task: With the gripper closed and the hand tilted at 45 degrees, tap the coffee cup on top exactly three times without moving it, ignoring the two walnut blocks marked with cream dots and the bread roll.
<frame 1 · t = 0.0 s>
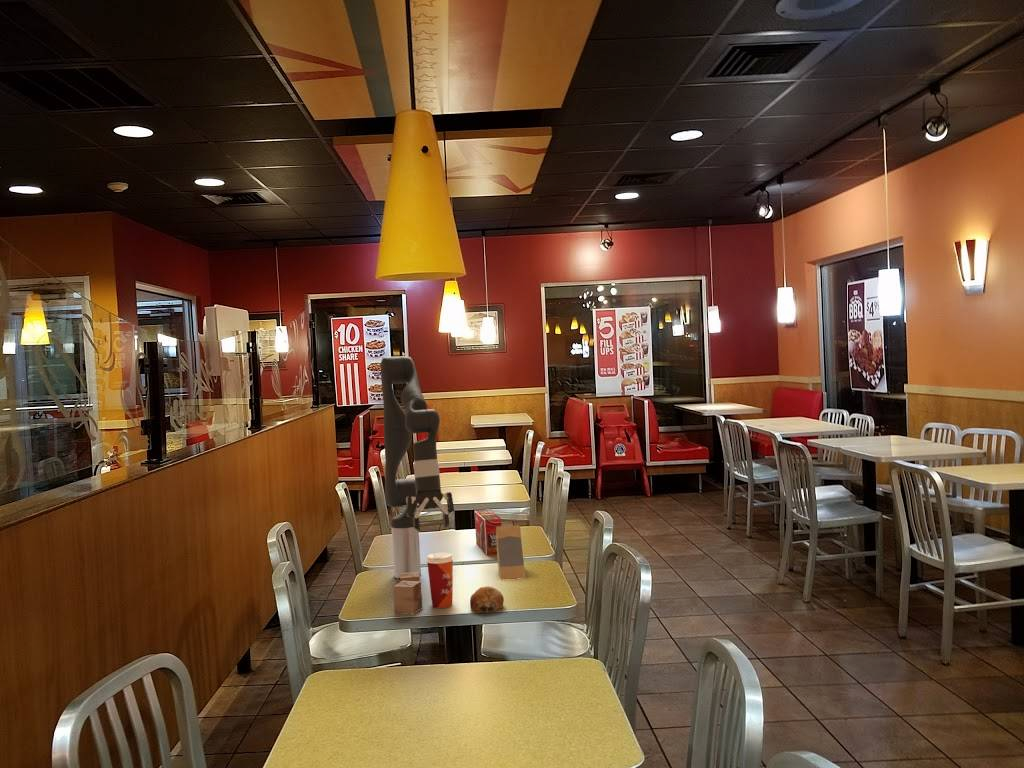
hand: (431, 529, 248), 22 cm above the table, tool pointing down, fingers open, 8 cm apart
three-dot block: (408, 610, 242), on the table
two-dot block: (411, 600, 252), on the table
ice cream box: (489, 549, 316), on the table
sandwich container: (511, 574, 278), on the table
bread roll: (486, 609, 240), on the table
coffee cup: (442, 605, 245), on the table
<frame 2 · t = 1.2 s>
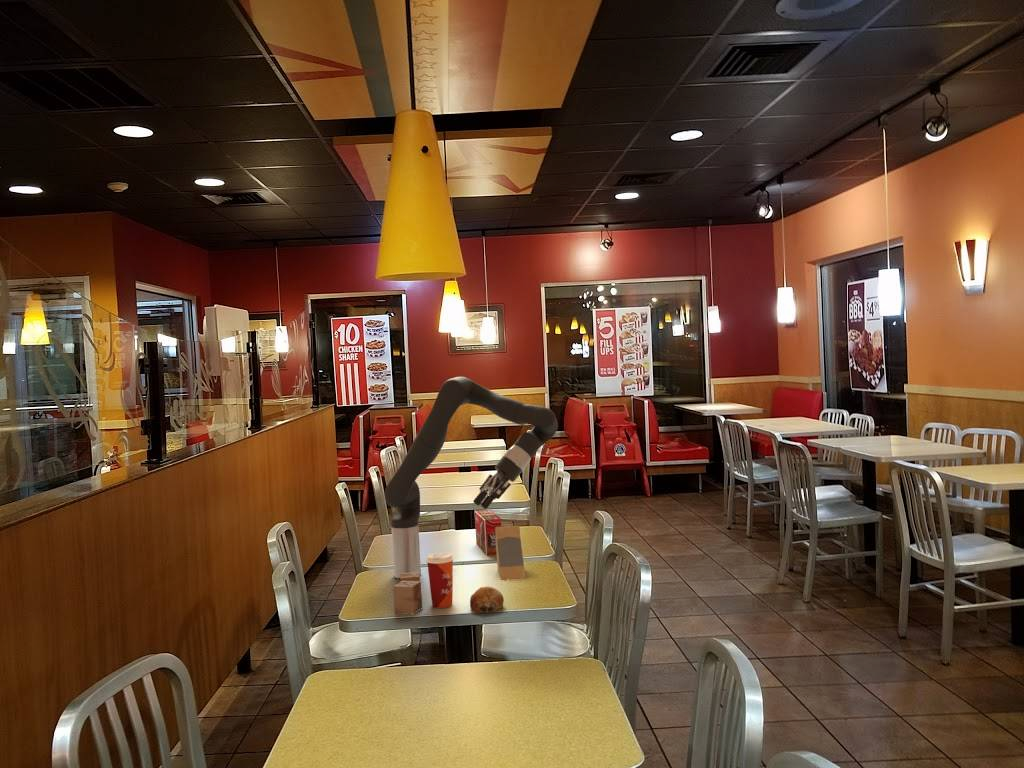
hand: (479, 505, 249), 28 cm above the table, tool tilted 45°, fingers open, 6 cm apart
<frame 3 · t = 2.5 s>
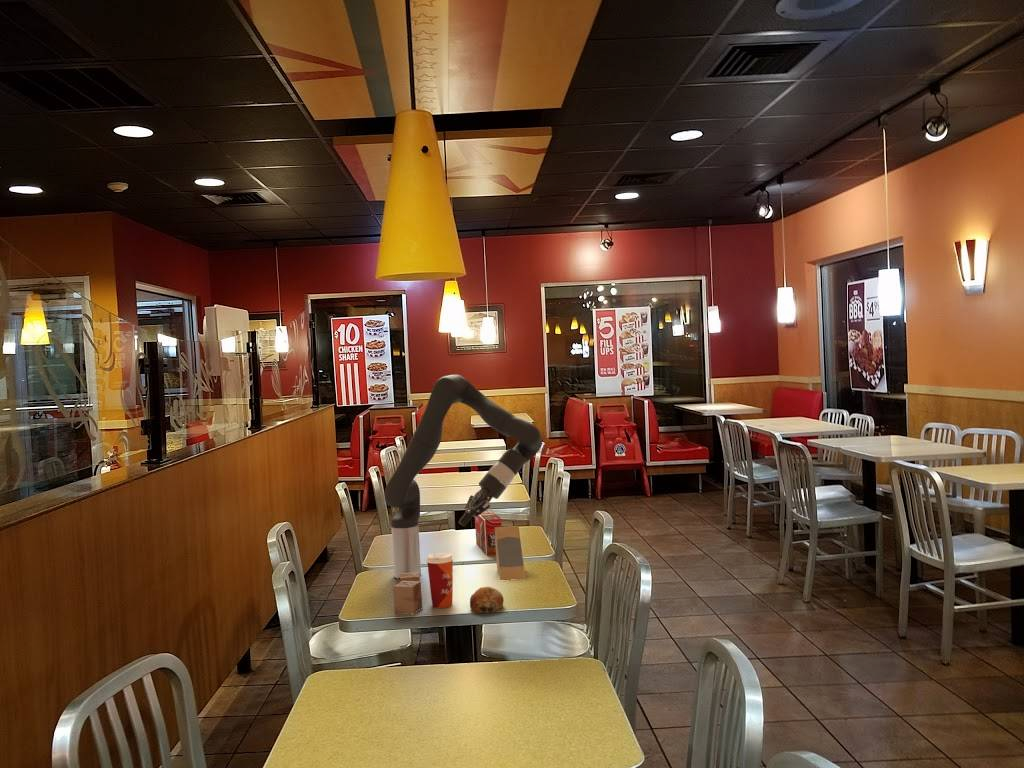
hand: (461, 524, 248), 23 cm above the table, tool tilted 45°, fingers closed
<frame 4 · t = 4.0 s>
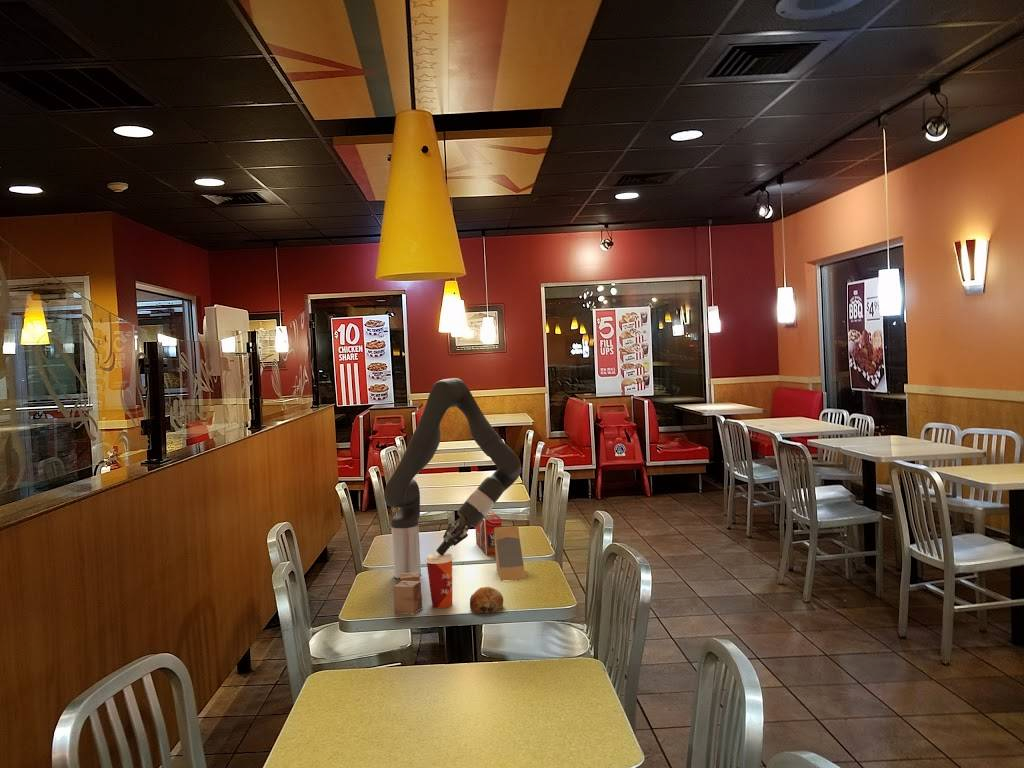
hand: (439, 553, 245), 16 cm above the table, tool tilted 45°, fingers closed
coffee cup: (442, 605, 245), on the table, touching gripper
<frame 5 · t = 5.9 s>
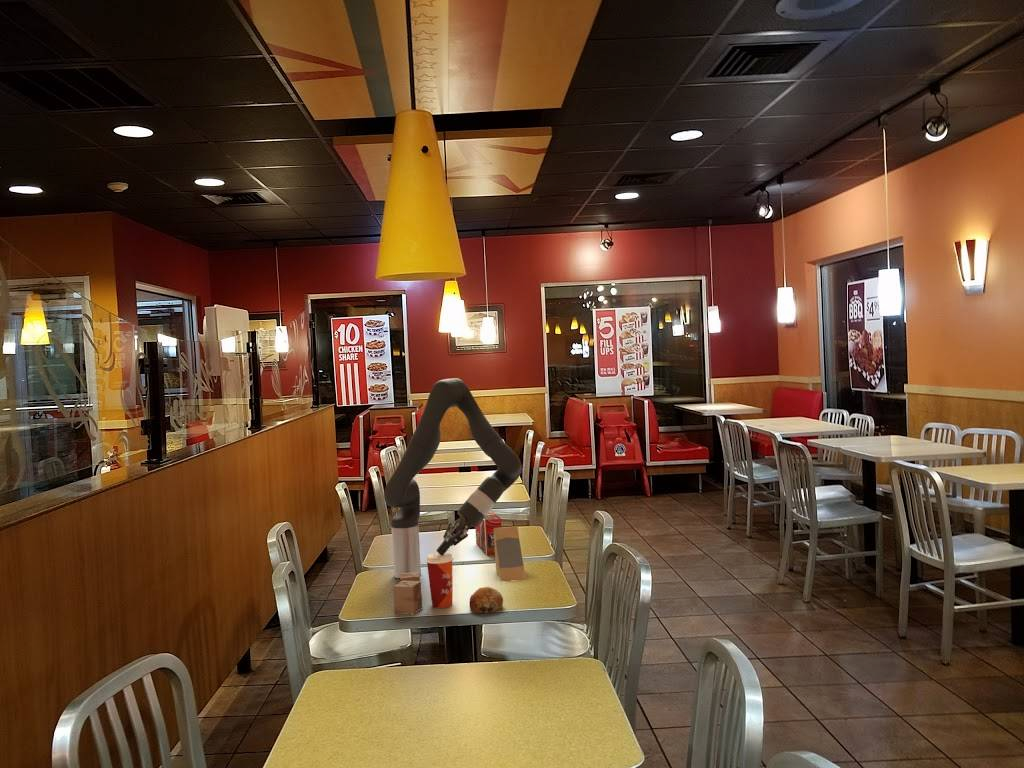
hand: (439, 553, 245), 16 cm above the table, tool tilted 45°, fingers closed
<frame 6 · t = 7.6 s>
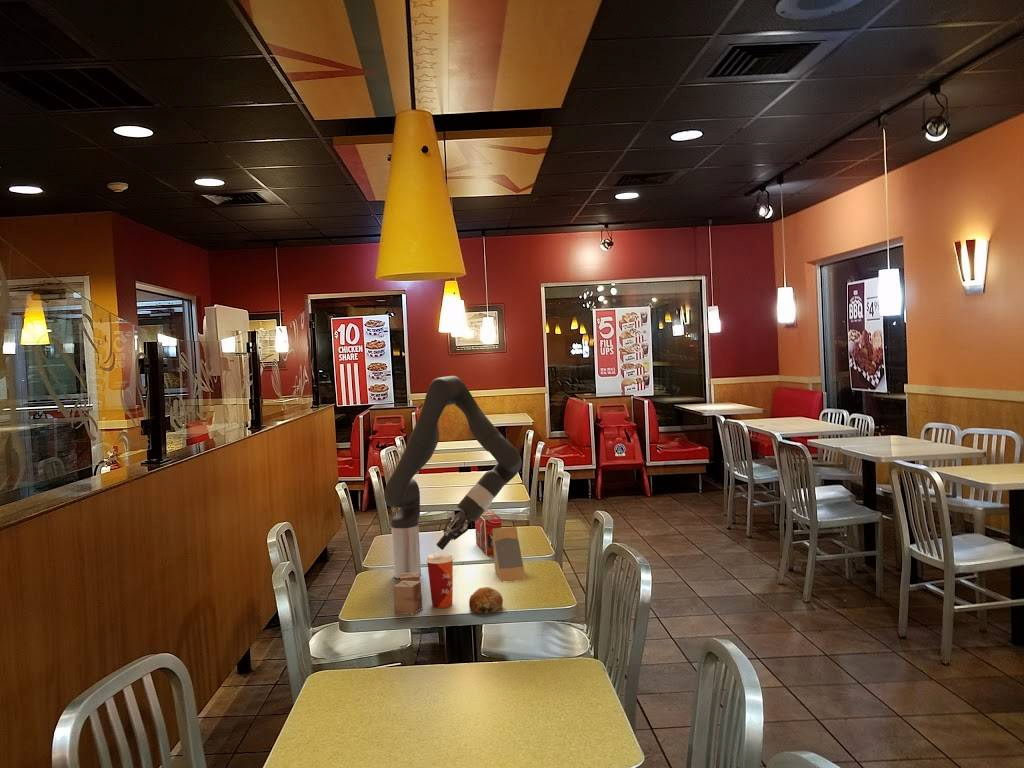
hand: (439, 547, 245), 17 cm above the table, tool tilted 45°, fingers closed
coffee cup: (442, 605, 245), on the table
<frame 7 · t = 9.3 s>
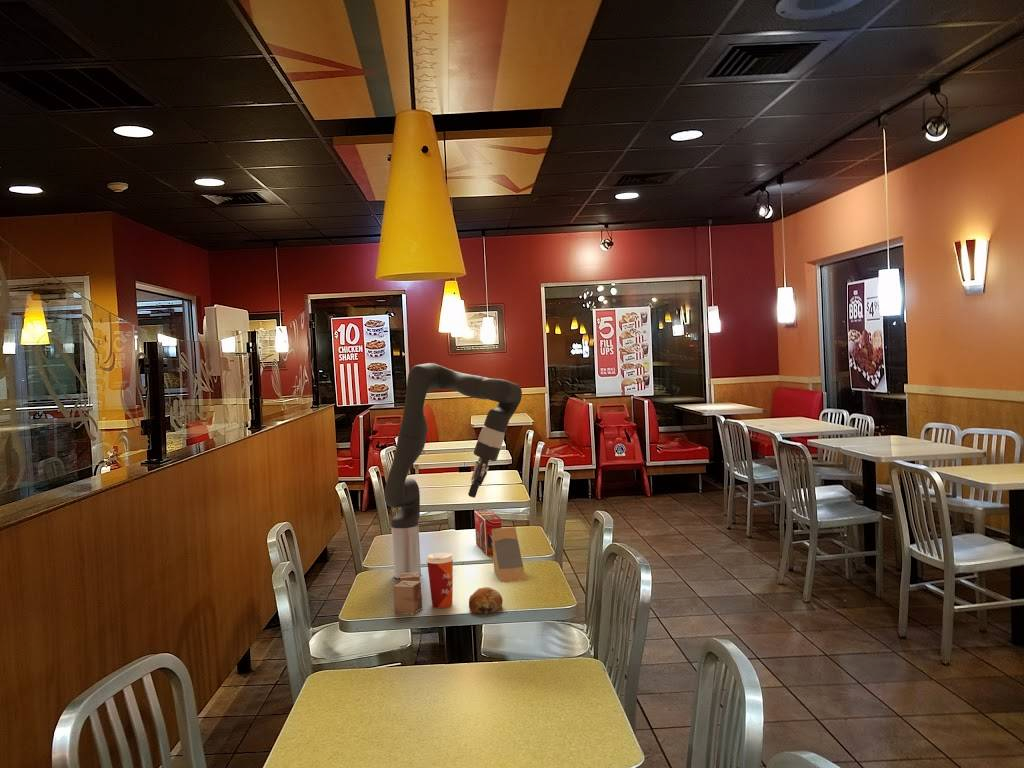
hand: (471, 496, 253), 31 cm above the table, tool tilted 20°, fingers closed
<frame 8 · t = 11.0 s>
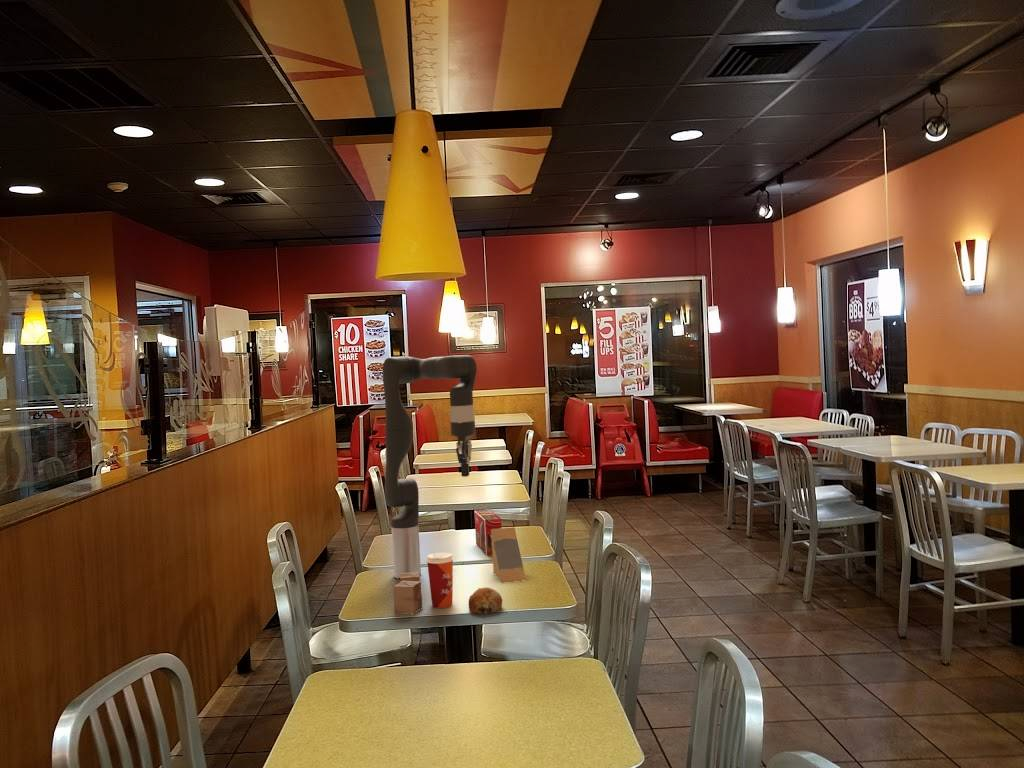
hand: (465, 476, 253), 37 cm above the table, tool pointing down, fingers closed
at the end: coffee cup moved 0.2 cm from its start; coffee cup tilted 0°; the gripper is holding nothing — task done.
